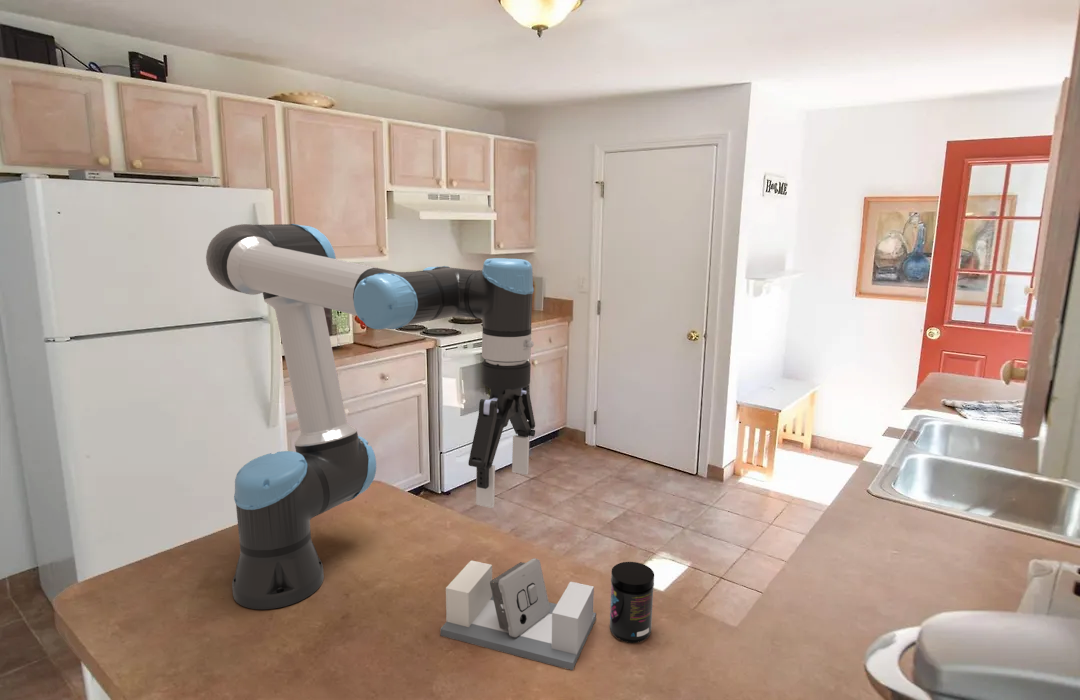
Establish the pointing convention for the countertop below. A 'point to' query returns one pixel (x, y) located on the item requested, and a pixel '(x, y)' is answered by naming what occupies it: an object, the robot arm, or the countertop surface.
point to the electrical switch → (520, 597)
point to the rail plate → (543, 641)
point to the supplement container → (631, 601)
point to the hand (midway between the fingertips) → (503, 488)
